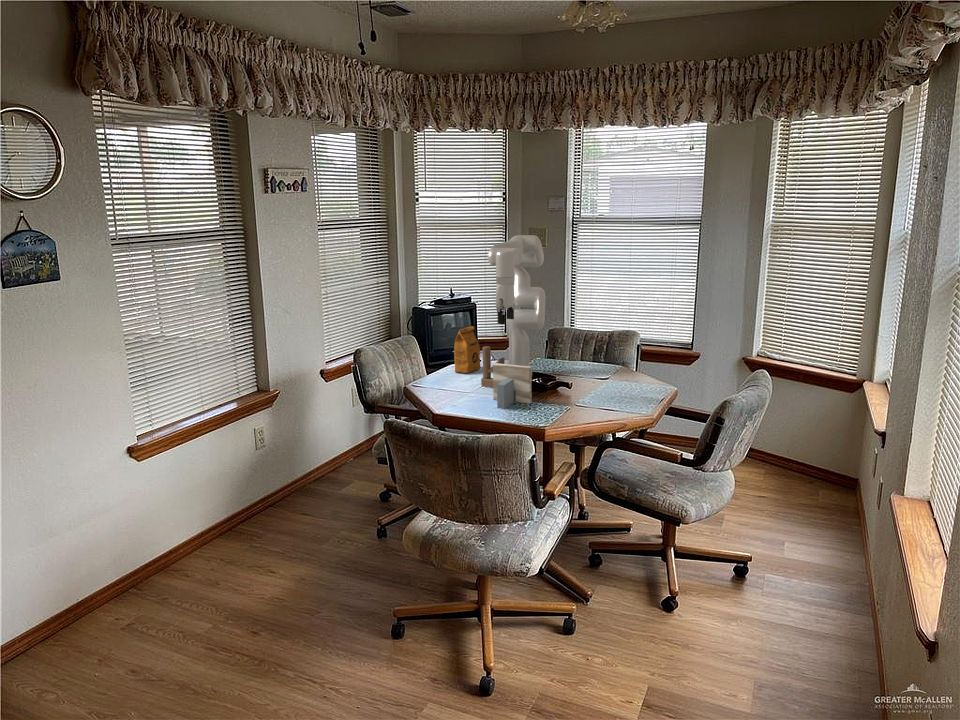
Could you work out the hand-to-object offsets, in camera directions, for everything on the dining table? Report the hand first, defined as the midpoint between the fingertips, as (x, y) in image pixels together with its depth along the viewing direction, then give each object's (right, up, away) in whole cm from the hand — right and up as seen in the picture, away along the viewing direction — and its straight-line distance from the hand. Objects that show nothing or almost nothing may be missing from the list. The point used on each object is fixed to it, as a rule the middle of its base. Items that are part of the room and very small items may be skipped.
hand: (505, 321), depth 282 cm
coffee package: (-17, -22, +49) cm, 56 cm away
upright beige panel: (+3, -33, 0) cm, 33 cm away
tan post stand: (-5, -29, +21) cm, 36 cm away
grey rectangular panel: (+3, -33, 0) cm, 33 cm away
